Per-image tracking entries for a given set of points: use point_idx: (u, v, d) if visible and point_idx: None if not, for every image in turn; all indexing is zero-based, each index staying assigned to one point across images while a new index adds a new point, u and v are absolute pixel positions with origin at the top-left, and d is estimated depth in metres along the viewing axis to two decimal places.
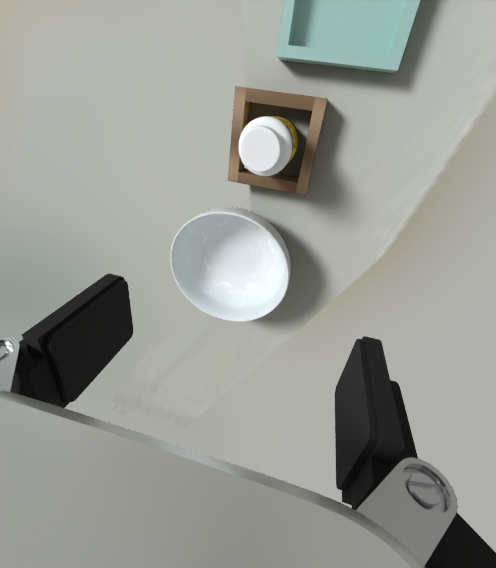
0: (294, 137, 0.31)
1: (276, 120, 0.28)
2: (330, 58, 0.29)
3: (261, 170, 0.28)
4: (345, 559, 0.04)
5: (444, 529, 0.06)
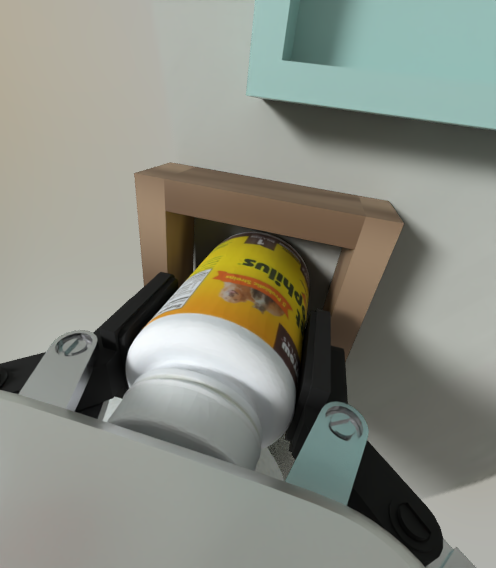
0: (302, 325, 0.11)
1: (238, 341, 0.07)
2: (426, 106, 0.08)
3: None
4: (345, 559, 0.04)
5: (362, 451, 0.07)
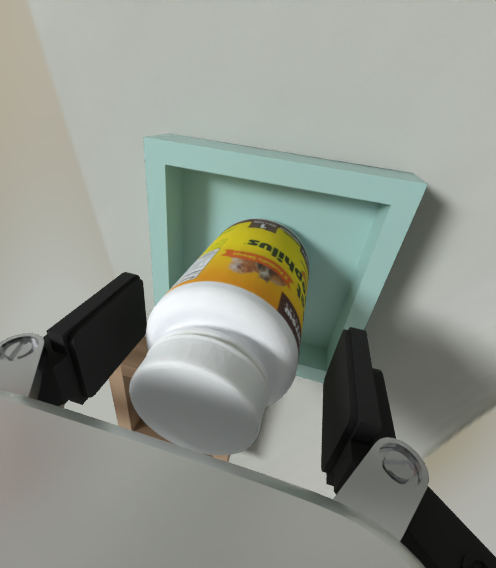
0: (302, 297, 0.12)
1: (247, 303, 0.09)
2: None
3: (204, 452, 0.09)
4: (345, 559, 0.04)
5: (418, 501, 0.06)
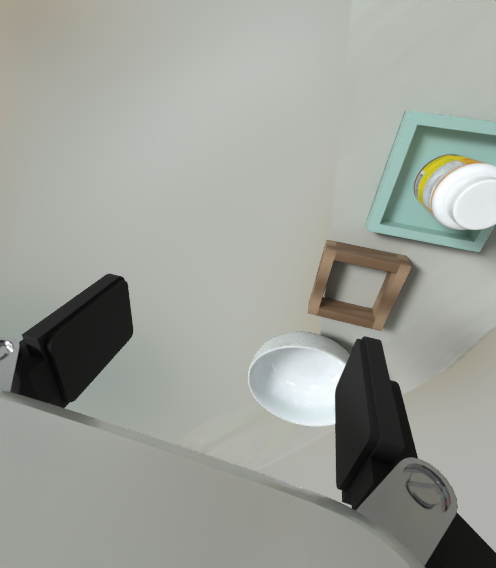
0: None
1: None
2: (418, 237, 0.32)
3: (477, 228, 0.23)
4: (345, 559, 0.04)
5: (444, 529, 0.06)
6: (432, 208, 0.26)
